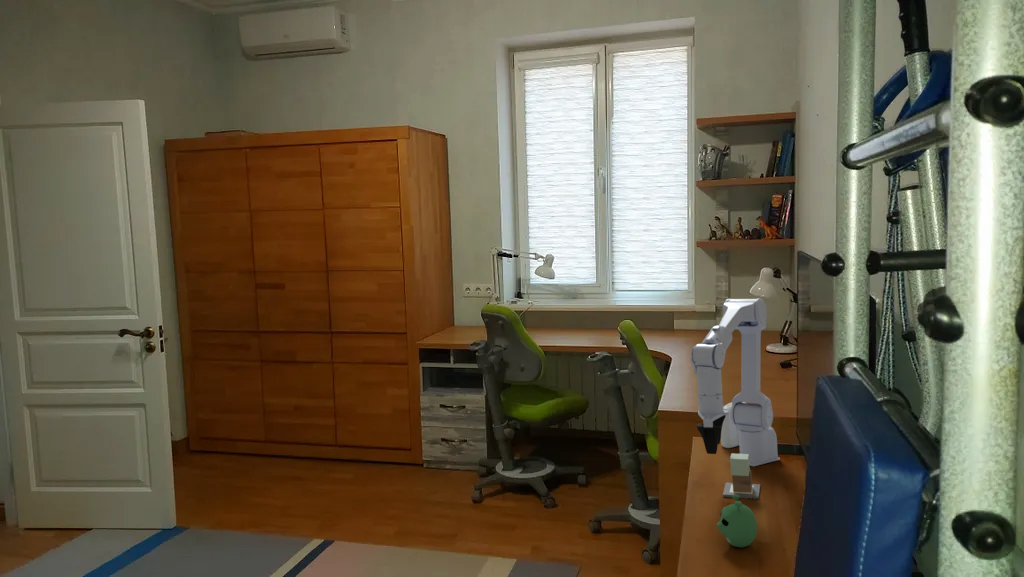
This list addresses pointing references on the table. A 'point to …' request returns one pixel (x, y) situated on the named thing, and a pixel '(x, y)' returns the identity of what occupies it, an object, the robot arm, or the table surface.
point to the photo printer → (729, 430)
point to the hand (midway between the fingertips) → (713, 448)
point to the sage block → (739, 464)
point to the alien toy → (738, 524)
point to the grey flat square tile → (754, 492)
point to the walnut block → (742, 483)
